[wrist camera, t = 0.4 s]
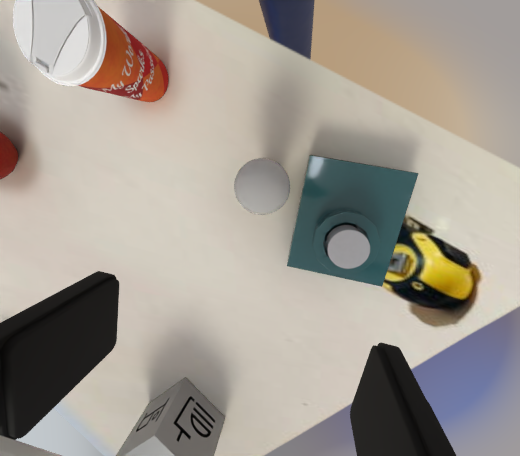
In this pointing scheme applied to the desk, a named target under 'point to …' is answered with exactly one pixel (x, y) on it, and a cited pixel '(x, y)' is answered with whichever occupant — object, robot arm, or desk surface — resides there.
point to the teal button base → (350, 215)
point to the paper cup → (87, 49)
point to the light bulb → (262, 186)
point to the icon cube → (176, 425)
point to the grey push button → (347, 246)
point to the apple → (7, 156)
